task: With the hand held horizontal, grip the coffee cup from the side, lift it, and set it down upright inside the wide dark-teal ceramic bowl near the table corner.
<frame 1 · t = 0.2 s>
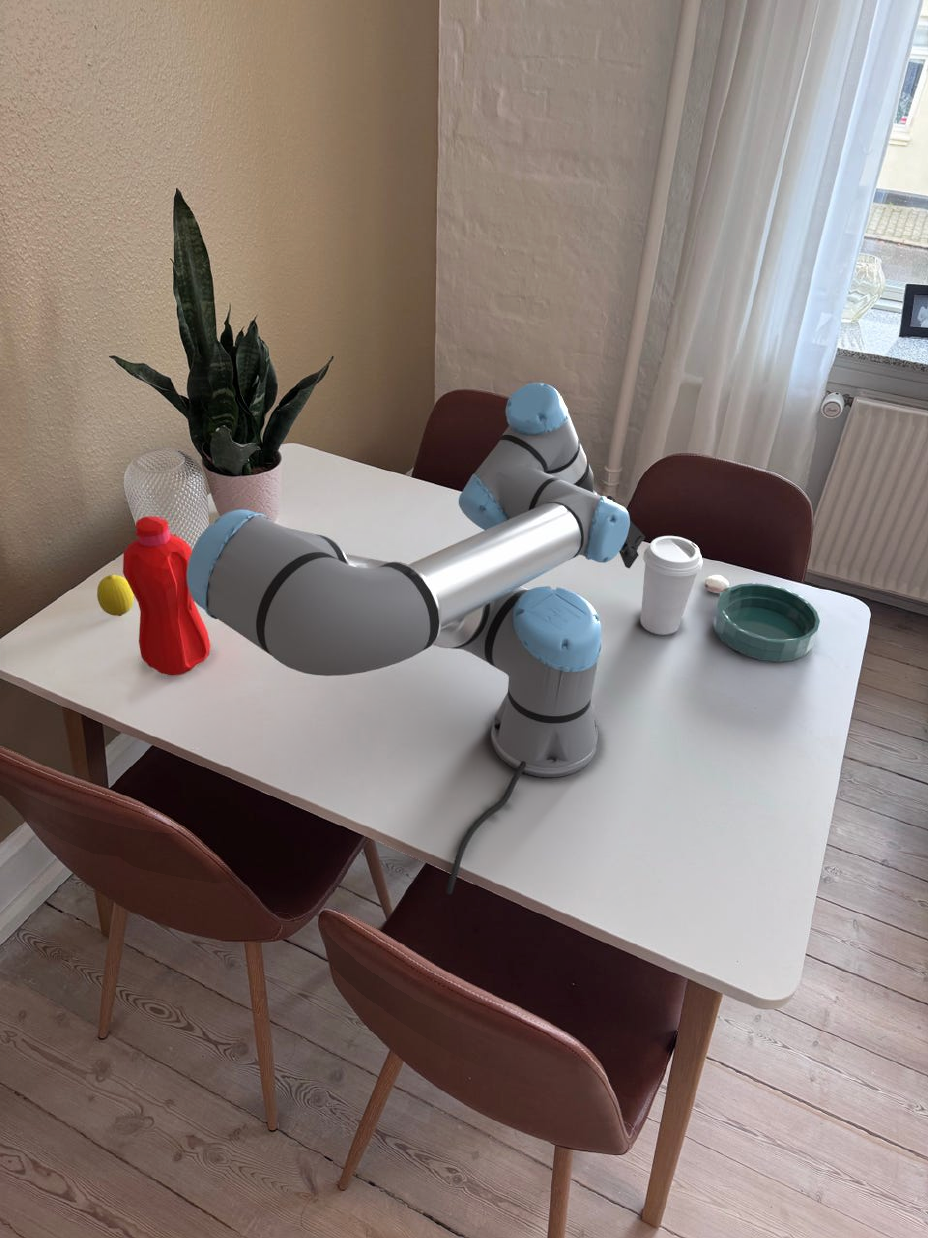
hand: (596, 545, 149), 15 cm above the table, tool tilted 35°, fingers open, 13 cm apart
coffee cup: (659, 624, 158), on the table
lemon: (120, 616, 154), on the table
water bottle: (181, 656, 146), on the table
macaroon: (715, 589, 167), on the table
bowl: (762, 632, 156), on the table
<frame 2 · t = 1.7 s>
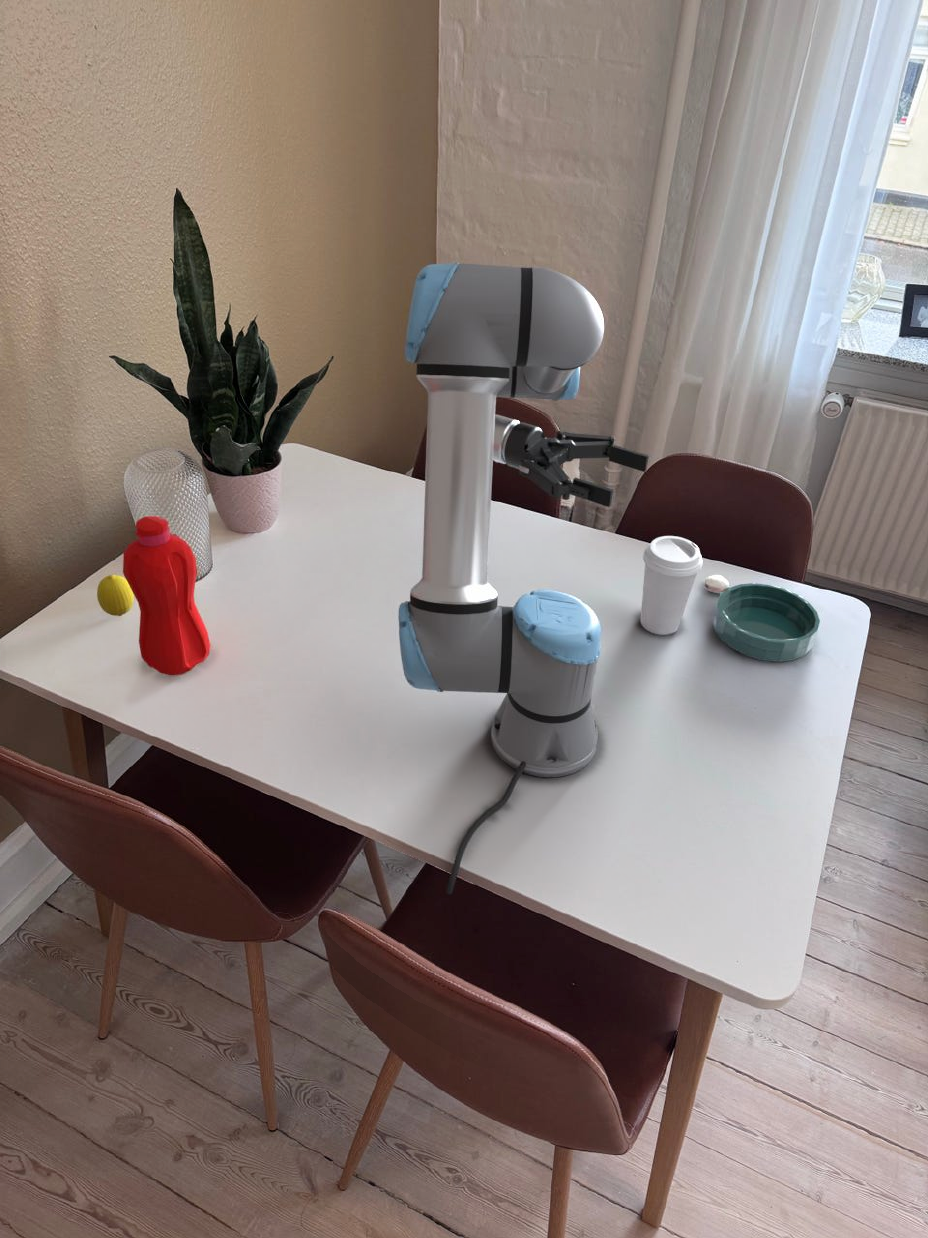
hand: (629, 480, 146), 24 cm above the table, tool horizontal, fingers open, 13 cm apart
nothing on the table moved.
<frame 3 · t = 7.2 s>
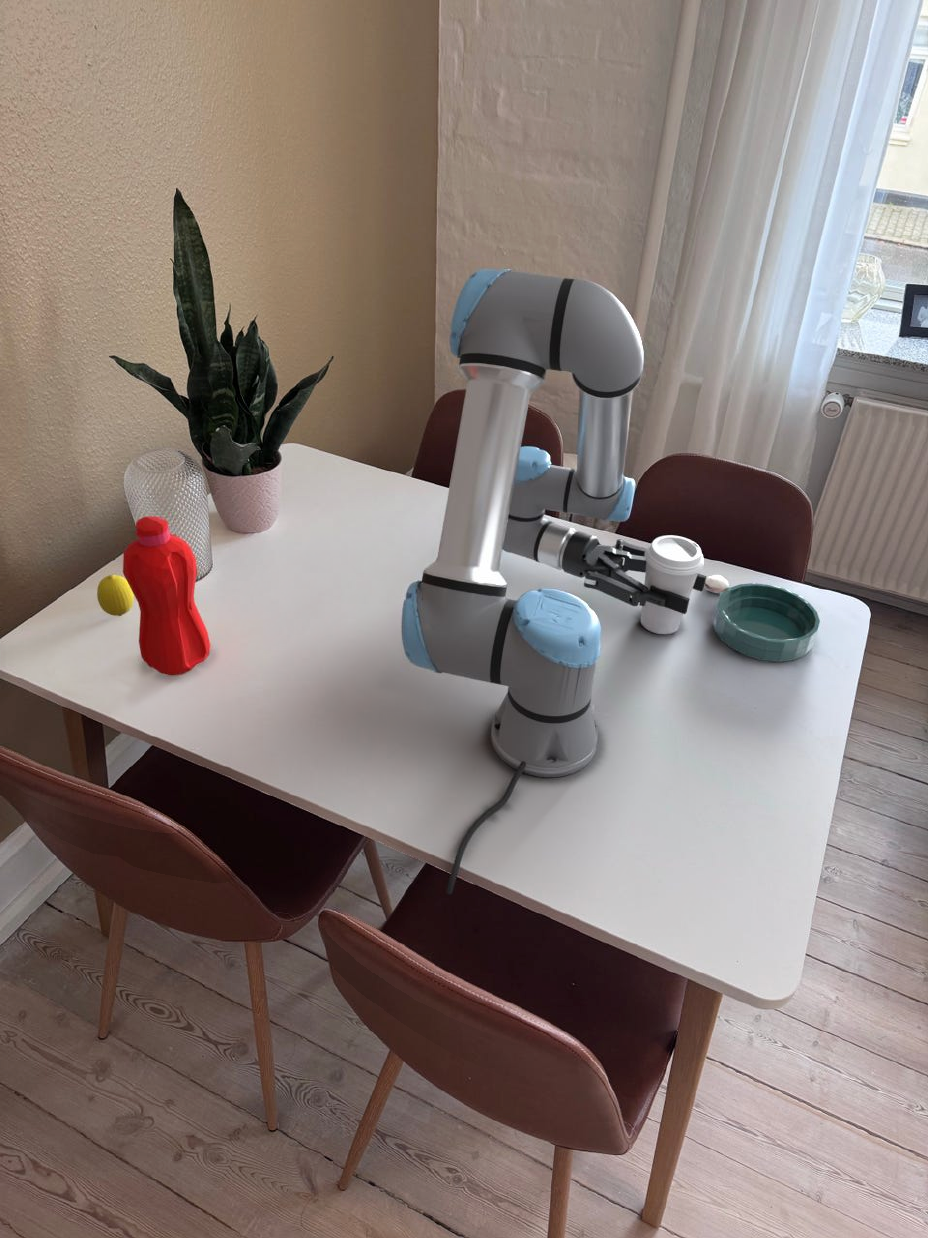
hand: (695, 594, 151), 8 cm above the table, tool horizontal, fingers closed on coffee cup, 7 cm apart
coffee cup: (659, 623, 158), on the table, touching gripper
everything else where it was.
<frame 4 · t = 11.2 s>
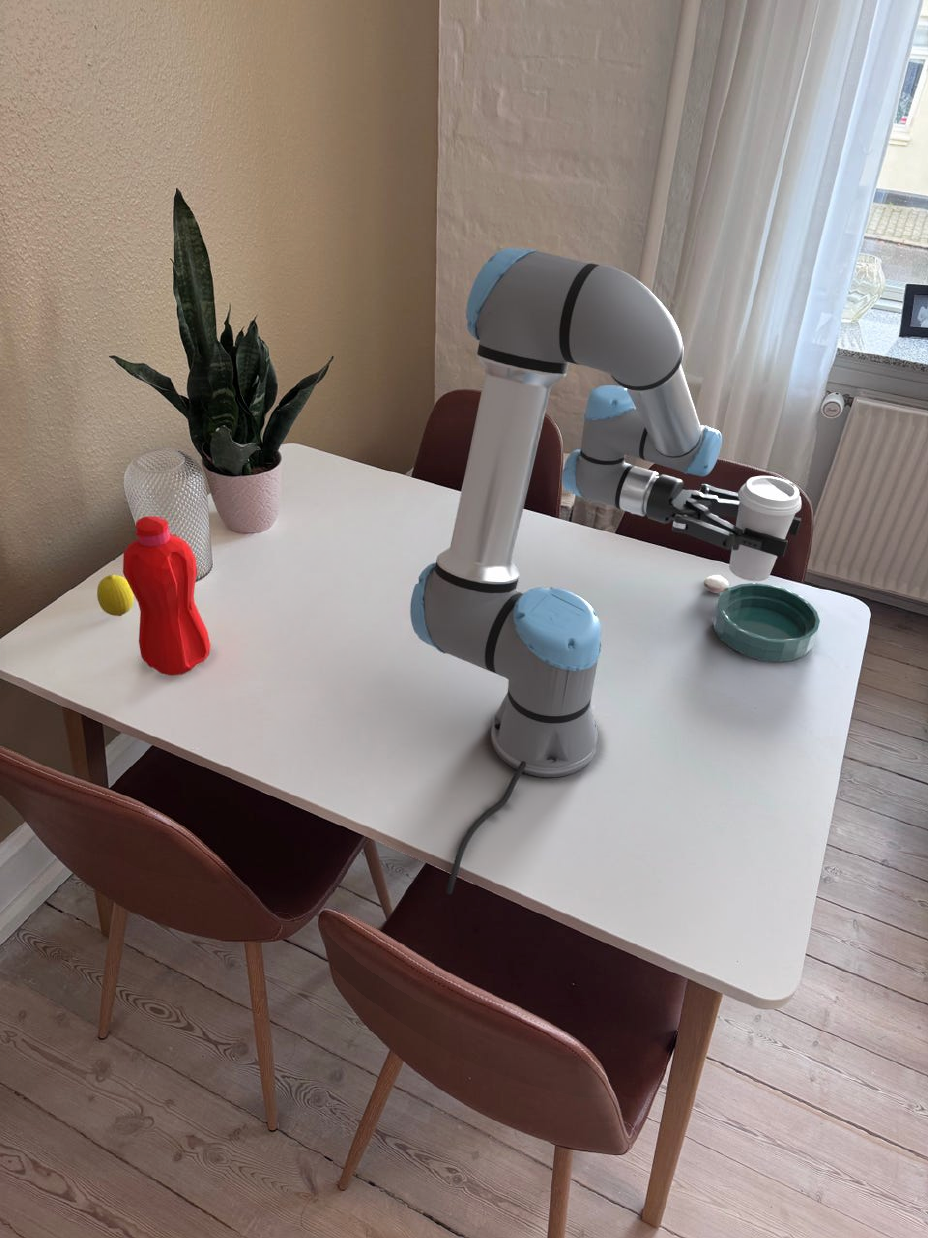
hand: (791, 538, 143), 20 cm above the table, tool horizontal, fingers closed on coffee cup, 7 cm apart
coffee cup: (749, 571, 150), point 12 cm above the table, touching gripper
everything else where it was.
when the fingers open (9 cm above the table, at t = 15.3 s): coffee cup stays where it is, resting on bowl.
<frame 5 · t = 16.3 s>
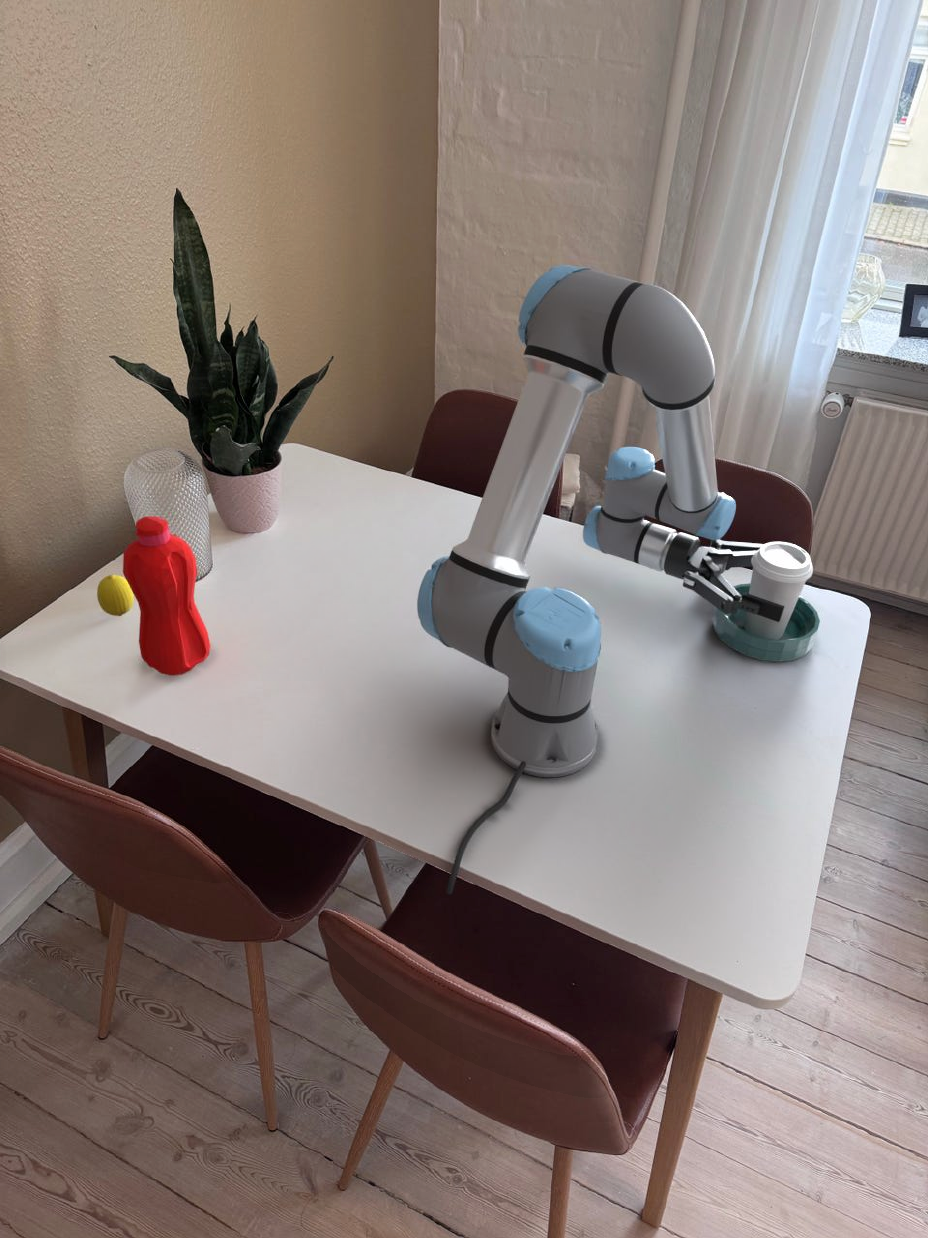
hand: (794, 593, 149), 9 cm above the table, tool horizontal, fingers open, 13 cm apart
coffee cup: (762, 630, 156), resting on bowl
everything else where it was.
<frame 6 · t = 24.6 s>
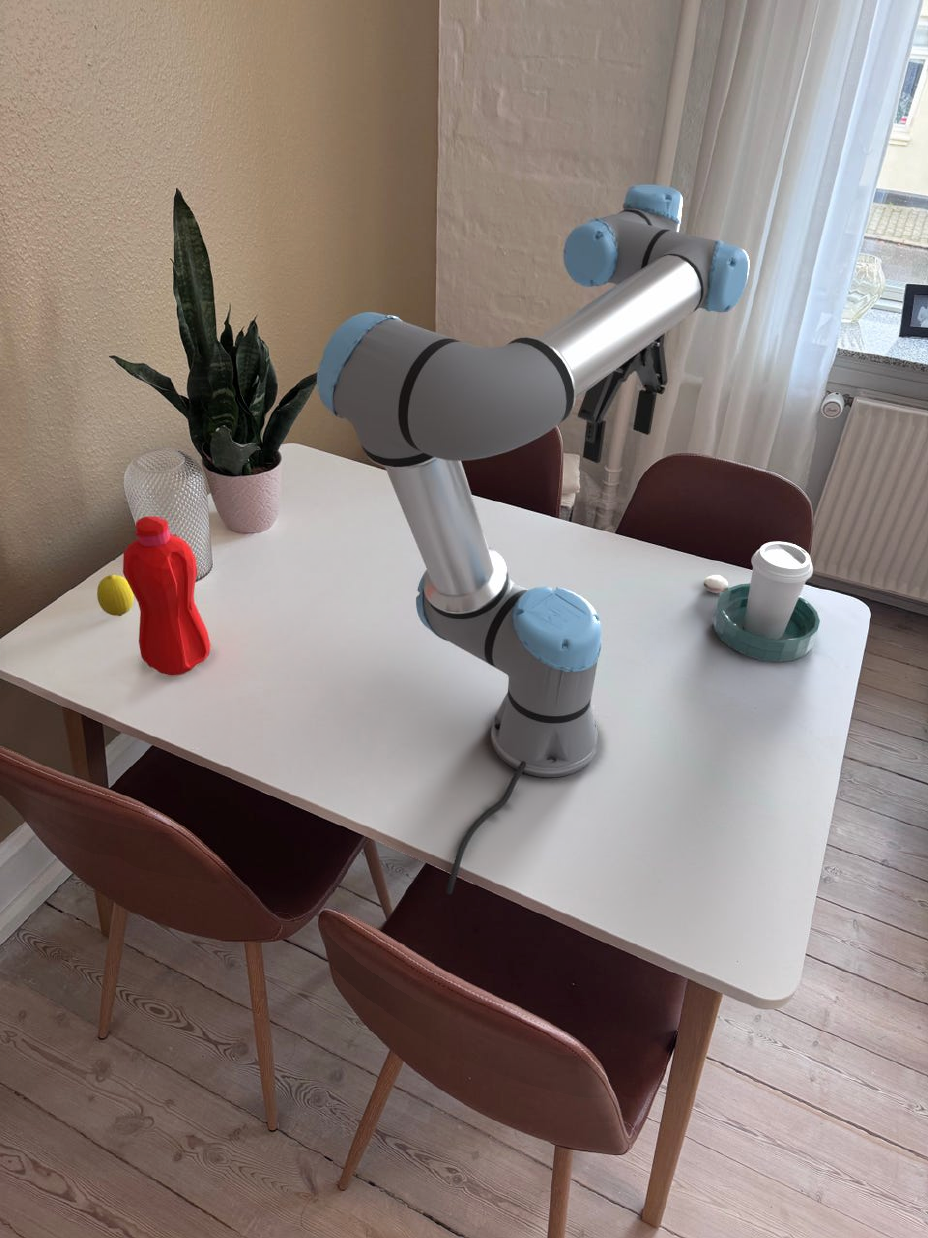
hand: (617, 445, 142), 31 cm above the table, tool pointing down, fingers open, 13 cm apart
nothing on the table moved.
at the end: coffee cup inside the target area in the bowl (0.2 cm from its centre), point 0.4 cm above the bowl's base; coffee cup tilted 0°; the gripper is holding nothing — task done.
